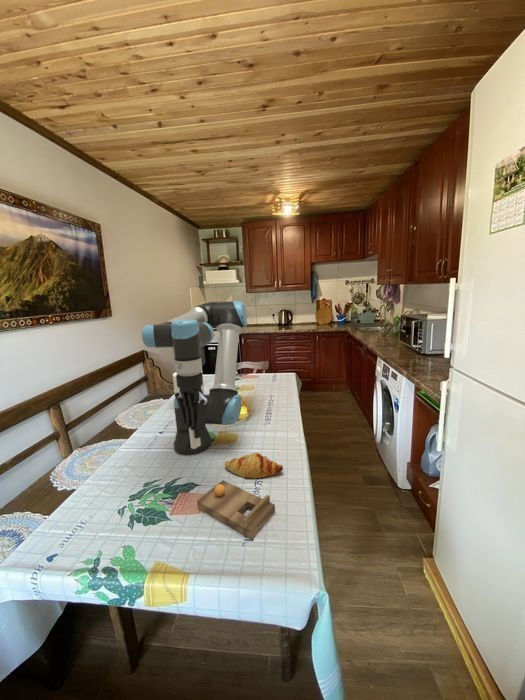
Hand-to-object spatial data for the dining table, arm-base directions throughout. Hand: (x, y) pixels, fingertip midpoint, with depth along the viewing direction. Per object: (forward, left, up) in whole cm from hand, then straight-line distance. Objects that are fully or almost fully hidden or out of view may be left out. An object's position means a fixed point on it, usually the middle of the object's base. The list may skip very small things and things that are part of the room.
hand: (195, 446), depth 88 cm
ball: (+9, 0, -12) cm, 15 cm away
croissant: (+8, +18, -16) cm, 25 cm away
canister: (-58, +46, -16) cm, 76 cm away
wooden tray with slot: (+15, 0, -16) cm, 22 cm away
